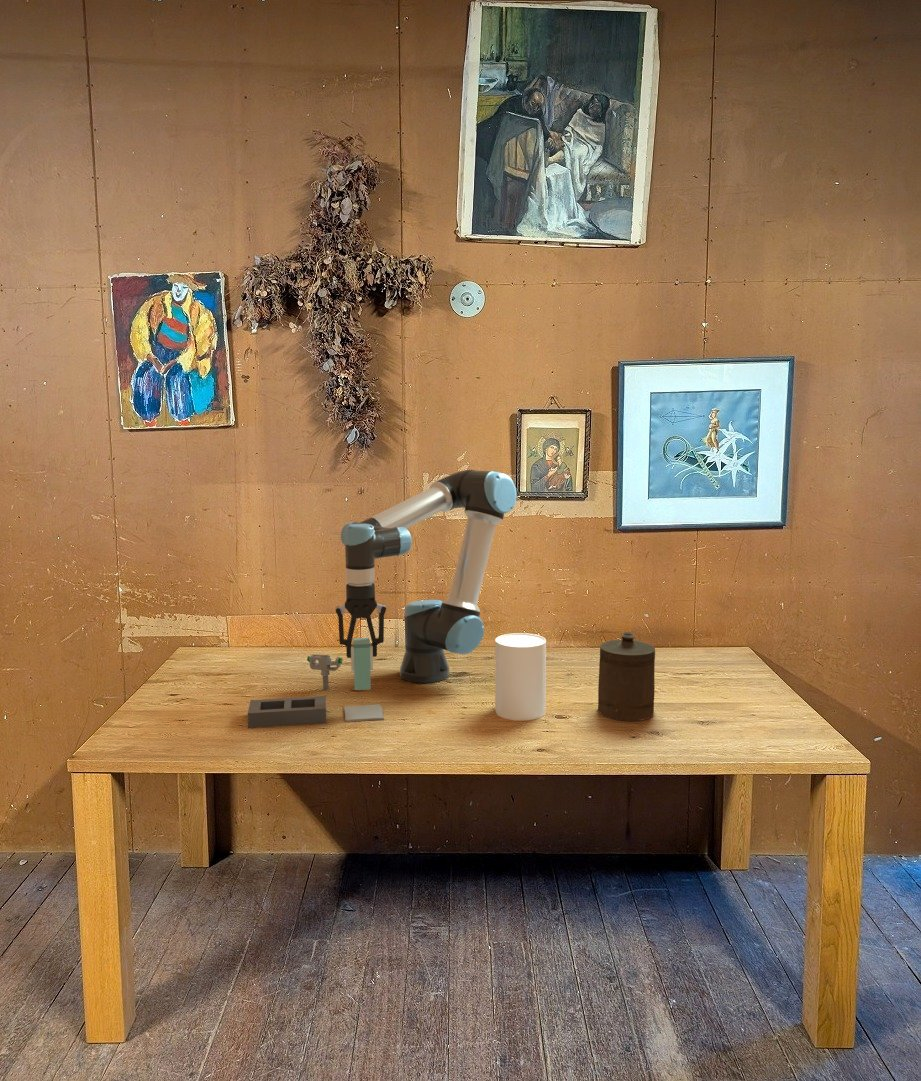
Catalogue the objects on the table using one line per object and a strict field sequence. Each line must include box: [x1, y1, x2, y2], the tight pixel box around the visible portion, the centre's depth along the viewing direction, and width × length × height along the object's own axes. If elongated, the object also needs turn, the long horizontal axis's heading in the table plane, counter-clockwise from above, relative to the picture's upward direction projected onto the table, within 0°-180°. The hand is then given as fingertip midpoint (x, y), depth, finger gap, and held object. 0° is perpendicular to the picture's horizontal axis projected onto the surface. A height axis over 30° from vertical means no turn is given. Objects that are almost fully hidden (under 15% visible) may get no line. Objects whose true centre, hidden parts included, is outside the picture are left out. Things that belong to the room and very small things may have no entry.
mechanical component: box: [306, 653, 344, 691], centre depth 257 cm, size 3×10×10 cm, turn 79°
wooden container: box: [597, 631, 656, 722], centre depth 237 cm, size 15×15×22 cm
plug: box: [352, 637, 372, 691], centre depth 235 cm, size 4×4×13 cm
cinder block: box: [247, 695, 327, 729], centre depth 234 cm, size 20×10×4 cm, turn 99°
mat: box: [344, 704, 385, 723], centre depth 238 cm, size 10×10×1 cm
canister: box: [494, 632, 547, 722], centre depth 237 cm, size 14×14×20 cm
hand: (362, 668), depth 235 cm, fingers closed on plug, 4 cm apart
